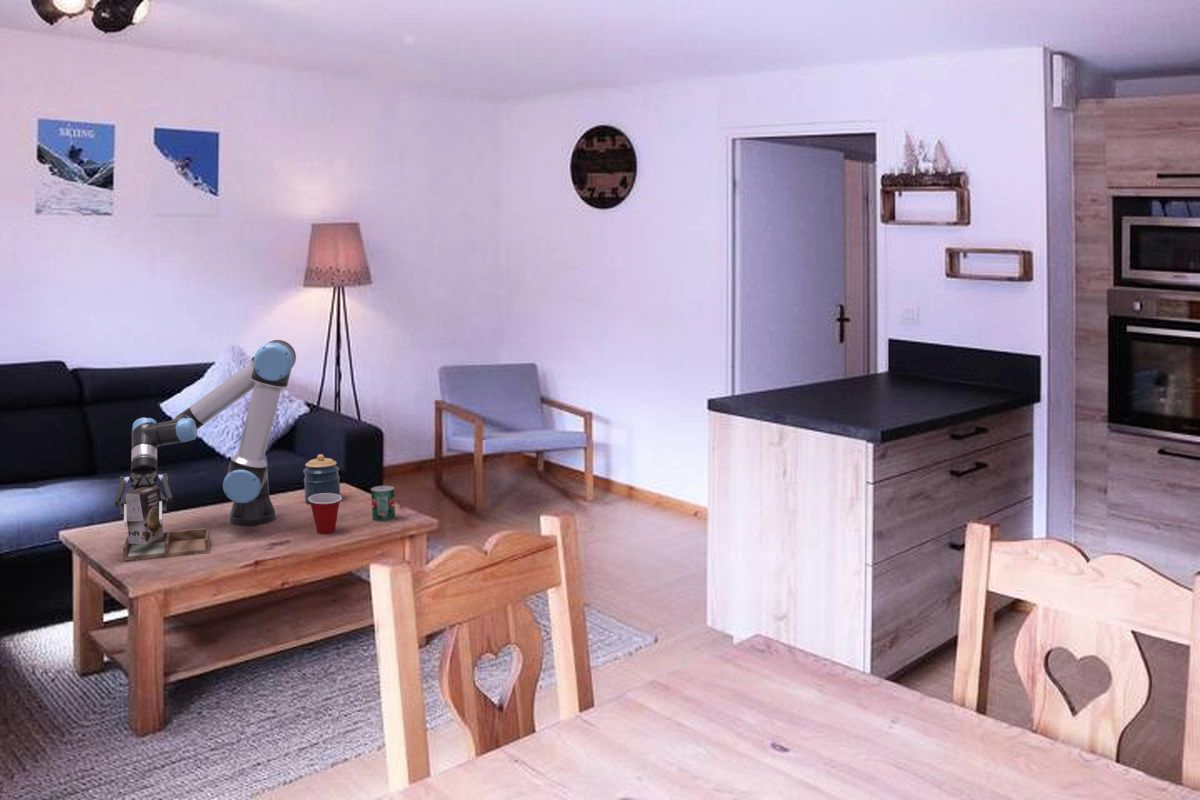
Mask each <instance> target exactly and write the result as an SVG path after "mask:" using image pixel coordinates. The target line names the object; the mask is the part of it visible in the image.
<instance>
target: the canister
mask: <svg viewBox="0 0 1200 800" xmlns="http://www.w3.org/2000/svg"><path fill="white" fill-rule="evenodd" d="M337 463H338V462H337V461H336V460H335V459H333V458H328V457H325V456H324V454H320V453H319V454H318V455H317V456H316V458H313V459H310V460H309V461H307V462H305V467H306V468H304V469H303V470H302V471H303V474H304V478H303V482H304V499H305V503H307V504H309V505H310V502H309V500H308V497H310V496H311V495H314V494H320V493H333V494H338V495H340V496H341V487H340V486H341V485H340V478H341V477H340V475H339V471H340V468H339V467H338V466H337ZM341 497H342V496H341Z"/></svg>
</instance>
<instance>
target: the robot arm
mask: <svg viewBox="0 0 1200 800" xmlns="http://www.w3.org/2000/svg"><path fill="white" fill-rule="evenodd" d="M296 360H297V353H296V351H295V348H294V347H293V346H292V345H291V344H290V343H289V342H287V341H285V340H282V339H281V340H280V339H274V340H271V341H268V342H267V343H265V344H263V345H261V346H260V347H259V348H258V349H257V350H256V353H255V354H254V356H252V357H251V358H250V362H249V363H248V364H247V365H245V366H244V367H243V368H241V369H240V370H239V371H237V372H236V373H235V374H233V375H231V376H230V377H228V379H226V380H225V381H223V382H222V383H220V384H219V385H218V386H217V387H215V388H214V389H213V390H211V391H210V392H208V393H207V394H206V395H204V396H203V397H201V398H200V399H198V400H197V401H196V402H195V403H193V404H192V405H190V406H189V407H188V408H186V409H185V410H184V411H182V412H180V413H179V414H177V415H176V416H175V417H174V418H172V420H168V421H167V420H166V421H163V422H162V421H161V422H157V420H155V419H153V418H151V417H140V418H137V419H136V420H135V421H134V422H133V423H132V429H131V459H130V460H131V464H130V474H129V476H126V477H125V476H123V475H121V476H120V477H119V482H120V483H119V486H118V488H117V492H116V494H115V497H114V500H113V503H114V506H115V507H116V508H119V509H120V510H119V511H120V516H121V517H123V524H124V527H125V528H126V527H127V528H128V525H127V510H126V494H125V493H124V492H125V490H126V485H128V483H129V482H131V485H130V487H129V488H128V490H127V492H126V493H128V492H131V491H133V490H136V489H139V488H141V487H158V485H157V484H156V482H157V481H158V480H160V482H161V483H162V484H163V488H164V491H165V495H166V497H165V496H164V494H163V493H162V491H161V490H160V499H161V501H159V521H160V524H163V523H164V521H163V520H164V518H163V516H164V514H167V510H168V509H167V508H168V507H167V506H168V504H172V503H173V502H174V501H173V499H174V498H173V494H172V493H171V492H172V491H171V489H170V486H169V483H168V473H167V472H164V473H163V474H159V473H158V447H161V446H166V445H173V444H179V443H187V442H190V441H195V440H196V439H197V435H198V430H199V429H200V428H201V427H203V426H205V424H207V423H208V422H210V421H211V420H213V419H214V418H215V417H216V416H218V415H219V414H221V413H222V412H223V411H225V410H226V409H227V408H228V407H230V406H232V405H234V404H235V403H236V402H237V401H238V400H240V399H241V398H243V397H245V395H247V394H248V393H250V392H251V391H252V393H251V397H250V400H249V401H250V402H249V406H248V410H247V414H246V417H245V422H244V425H243V429H242V432H241V433H242V434H241V437H240V441H239V444H238V445H239V446H238V449H237V450H238V451H237V453H235V455H232V456H231V458H230V461H229V465H228V468H227V469H228V470H227V473H226V475H225V476H224V479H223V481H222V489H223V492H224V495H225V496H226V497H227V498H228V499H229V500H230V501H232V506H231V510H230V513H229V523H230V524H232V525H235V526H243V527H244V526H245V527H247V526H257V525H264V524H267V523H270V522H273V521H274V520H276V519H277V518H276V516H277V515H276V510H275V508H274V505H273V502H272V500H271V498H270V489H269V486H270V485H269V474H268V473H269V472H268V464H269V462H268V459H267V458H268V457H267V455H266V451H267V447H268V445H269V440H270V436H271V431H272V427H273V423H274V420H275V416H276V412H277V408H278V405H279V401H280V400H279V399H280V397H281V392H282V391H283V390H284V389H286V388H287V387H288V383H289V380H290V377H291V373H292V369H293V368H294V366H295V364H296ZM124 494H125V495H124ZM123 495H124V496H123Z"/></svg>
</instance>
